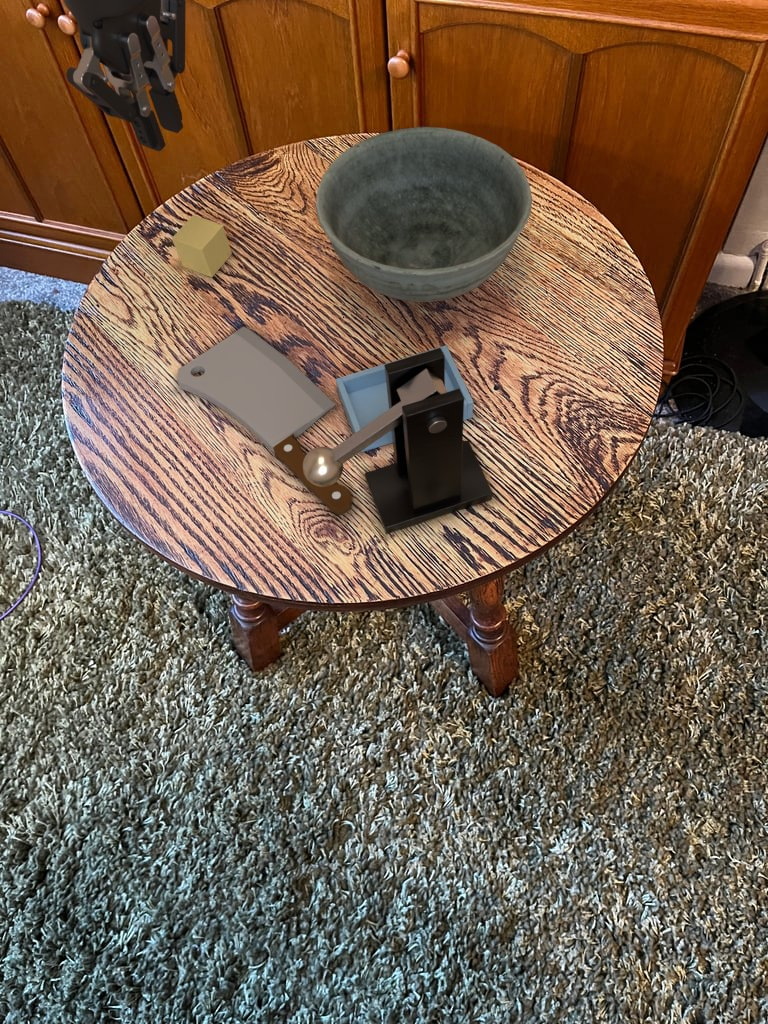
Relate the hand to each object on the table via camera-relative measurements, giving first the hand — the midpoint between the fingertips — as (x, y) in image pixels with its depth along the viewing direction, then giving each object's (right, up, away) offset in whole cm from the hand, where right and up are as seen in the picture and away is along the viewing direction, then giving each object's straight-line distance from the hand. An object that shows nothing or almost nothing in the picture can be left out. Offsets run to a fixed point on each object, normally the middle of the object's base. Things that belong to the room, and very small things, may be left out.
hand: (163, 137), depth 72 cm
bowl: (+25, -9, +11) cm, 29 cm away
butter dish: (+22, -25, +2) cm, 34 cm away
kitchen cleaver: (+11, -26, +3) cm, 28 cm away
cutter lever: (+20, -29, -12) cm, 37 cm away
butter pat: (+1, -7, +13) cm, 15 cm away
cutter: (+24, -33, -2) cm, 41 cm away
